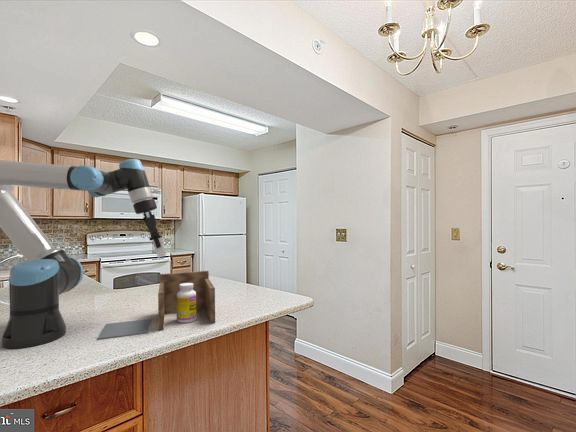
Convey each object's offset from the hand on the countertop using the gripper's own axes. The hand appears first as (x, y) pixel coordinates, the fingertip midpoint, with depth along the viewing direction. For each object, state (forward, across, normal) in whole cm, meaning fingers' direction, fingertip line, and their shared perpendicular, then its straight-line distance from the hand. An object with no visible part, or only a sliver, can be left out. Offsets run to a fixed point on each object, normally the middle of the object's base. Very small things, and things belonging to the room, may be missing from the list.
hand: (162, 255), depth 114 cm
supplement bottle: (+24, -7, -1) cm, 25 cm away
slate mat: (+19, -8, +17) cm, 27 cm away
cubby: (+24, -5, -1) cm, 25 cm away
